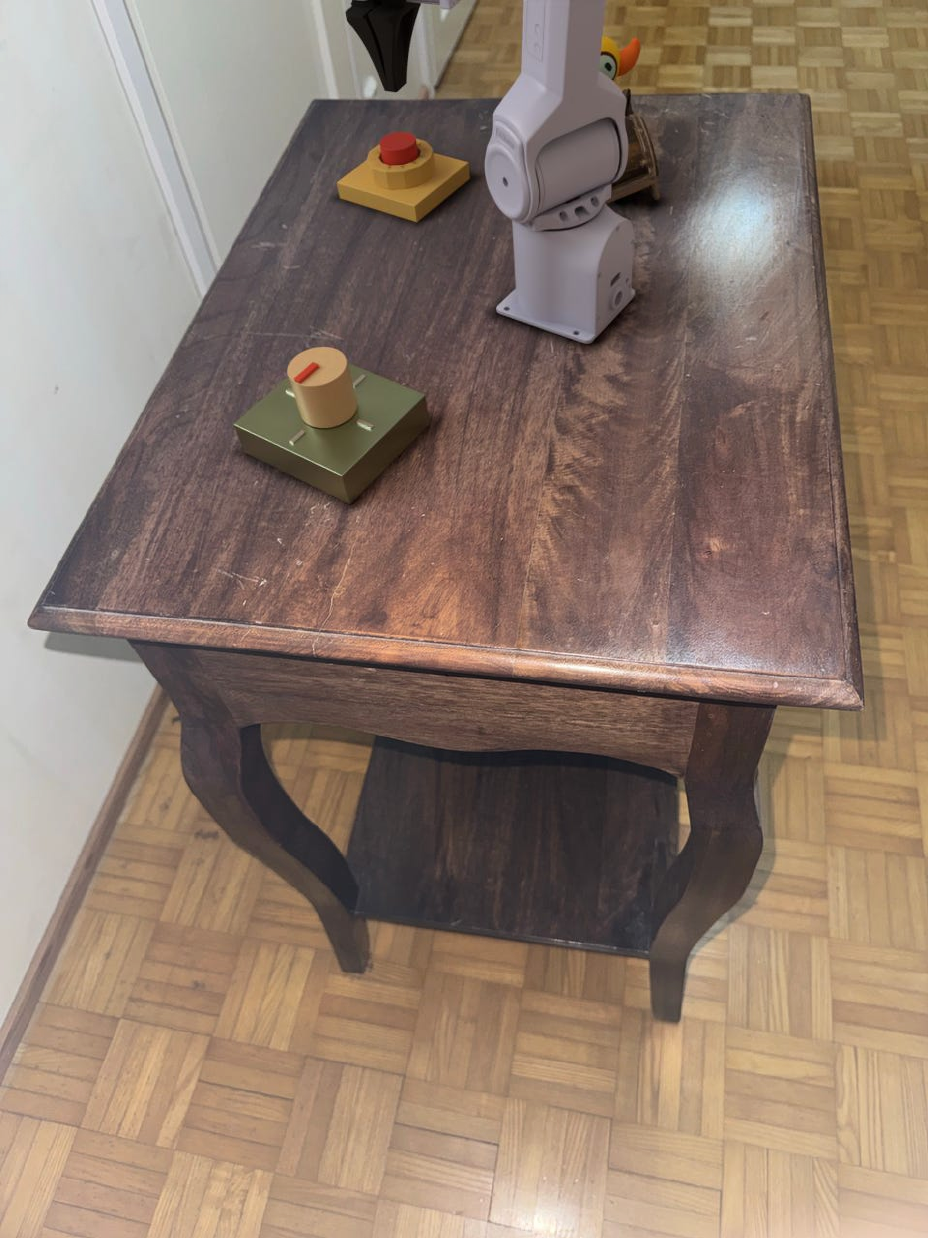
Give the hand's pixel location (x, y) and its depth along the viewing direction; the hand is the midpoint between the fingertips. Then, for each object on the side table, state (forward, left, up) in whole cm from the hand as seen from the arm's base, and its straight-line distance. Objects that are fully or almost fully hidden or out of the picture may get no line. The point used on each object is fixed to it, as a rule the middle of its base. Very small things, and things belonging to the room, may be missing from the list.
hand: (395, 86), depth 84 cm
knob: (-17, +32, -7) cm, 37 cm away
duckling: (-11, -15, -10) cm, 21 cm away
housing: (+1, 0, -10) cm, 10 cm away
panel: (-17, +32, -10) cm, 38 cm away
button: (+1, 0, -7) cm, 7 cm away
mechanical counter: (-17, -7, -10) cm, 21 cm away
